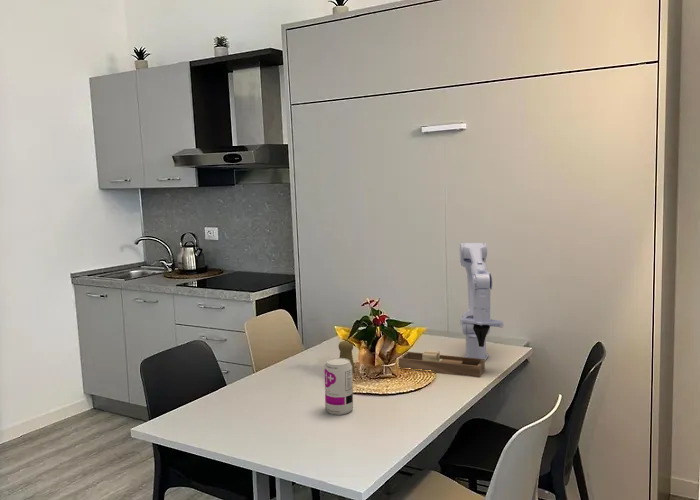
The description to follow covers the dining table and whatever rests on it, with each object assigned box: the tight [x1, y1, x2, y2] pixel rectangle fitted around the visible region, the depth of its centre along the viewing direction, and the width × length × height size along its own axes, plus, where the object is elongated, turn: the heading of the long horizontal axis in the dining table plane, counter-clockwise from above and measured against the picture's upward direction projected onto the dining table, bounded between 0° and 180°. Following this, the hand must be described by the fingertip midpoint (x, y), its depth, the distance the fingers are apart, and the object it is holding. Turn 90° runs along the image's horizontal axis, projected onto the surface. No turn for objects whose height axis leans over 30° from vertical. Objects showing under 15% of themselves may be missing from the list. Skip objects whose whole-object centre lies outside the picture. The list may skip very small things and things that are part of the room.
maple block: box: [422, 350, 441, 362], centre depth 223 cm, size 5×5×3 cm
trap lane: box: [398, 351, 486, 378], centre depth 222 cm, size 9×29×4 cm, turn 67°
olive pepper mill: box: [338, 340, 356, 375], centre depth 221 cm, size 6×6×11 cm
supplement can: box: [324, 357, 354, 416], centre depth 185 cm, size 8×8×15 cm
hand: (481, 346), depth 217 cm, fingers closed
